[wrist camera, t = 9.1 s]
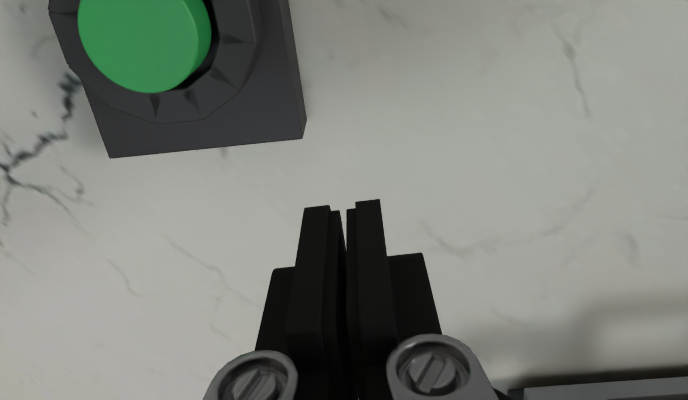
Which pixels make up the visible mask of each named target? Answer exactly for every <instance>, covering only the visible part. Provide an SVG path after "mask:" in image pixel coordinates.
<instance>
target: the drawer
mask: <svg viewBox="0 0 688 400" xmlns="http://www.w3.org/2000/svg"><path fill="white" fill-rule="evenodd" d="M523 400H688V376H687V377H673V378H659V379H645V380H631V381H616V382H602V383H588V384H574V385H560V386H546V387H532V388H524V397H523Z"/></svg>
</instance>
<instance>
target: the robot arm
mask: <svg viewBox="0 0 688 400" xmlns="http://www.w3.org/2000/svg"><path fill="white" fill-rule="evenodd" d="M355 204H356V208H354V209H347V243H346V247H345V240H344V234H343V228H342V222H341V216H340V211H339V210H337V211H331V209H330V206H329V205H325V206H316V207H308V208H304V213H303V219H302V226H301V232H300V238H299V244H298V251H297V257H296V263H295V266H294V267H285V268H276V269H274V270H273V272H272V276H271V280H270V285H269V289H268V294H267V298H266V302H265V307H264V311H263V316H262V320H261V325H260V329H259V334H258V338H257V342H256V347H255V351H252V352H249V353H246V354H243V355H240V356H238V357H237V358H235V359H233V360H232V361H230V362H228V363H227V364H226V365H225V366H224V367H223V368H222V369H220V370H219V371H218V373H217V374H216V376H215V377H214V379H213V380H212V382H211V383H210V385H209V388H208V390H207V392H206V394H205V396H204V398H203V400H358V398H359V400H514V399H512V398H511V397H509V396H507V395H505V394H503V393H502V392H500V391H498V390H496V389H494V388H493V387H492V386H491V384H490V382H489V380H488V378H487V376H486V374H485V372H484V370H483V368H482V367H481V365H480V363H479V361H478V359H477V357H476V356H475V354H474V353H473V352H472V351H471V349H470V348H469V347H468V346H466V345H465V344H464V343H462V342H461V341H459V340H457V339H454V338H452V337H449V336H446V335H442V332H441V328H440V324H439V320H438V315H437V311H436V307H435V303H434V299H433V295H432V290H431V286H430V282H429V278H428V274H427V270H426V266H425V261H424V257H423V254H422V253H413V254H404V255H395V256H387V253H386V245H385V237H384V229H383V221H382V213H381V205H380V199H376V200H368V201H359V202H356V203H355Z"/></svg>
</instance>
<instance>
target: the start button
mask: <svg viewBox="0 0 688 400" xmlns="http://www.w3.org/2000/svg"><path fill="white" fill-rule="evenodd" d="M77 21H78V31H79V36H80V39H81V42H82V45H83V47H84V49H85V51H86V53H87V55H88V57H89V58H90V60H91V61H92V62H93V64H94V65H95V66H96V67H97V68H98V70H99V71H100V72H101V73H103V74H104V75H105V76H106V77H107V78H109V79H110V80H111V81H113V82H114V83H116V84H118V85H120V86H122V87H124V88H126V89H129V90H132V91H136V92H141V93H159V92H164V91H167V90H170V89H172V88H174V87H176V86H177V85H179V84H180V83H182V82H183V81H184V80H185V79H186V78H187V77H188V76H189V75H191V74H192V73H193V72H194V71H195V70H196V69H197V68H198V67H199V66H200V65H201V64H202V62H203V61H204V60H205V58H206V56H207V54H208V51H209V48H210V44H211V35H212V33H211V23H210V18H209V15H208V12H207V9H206V7H205V5H204V3H203V1H202V0H81V1H80V4H79V8H78V16H77Z"/></svg>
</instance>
